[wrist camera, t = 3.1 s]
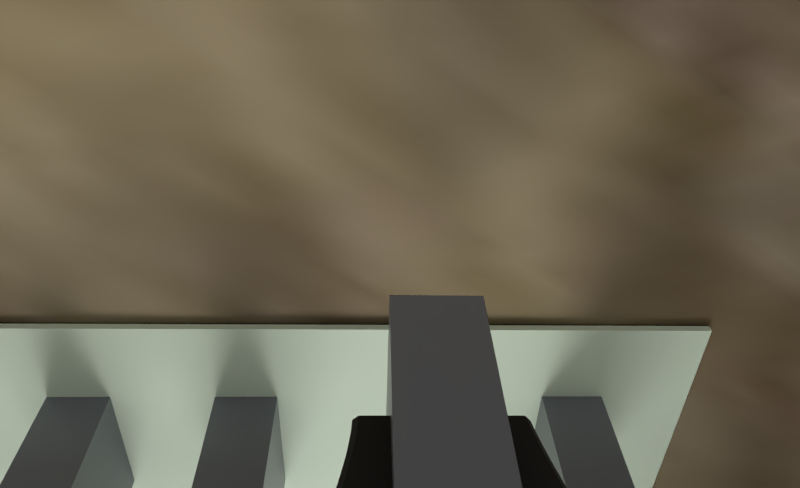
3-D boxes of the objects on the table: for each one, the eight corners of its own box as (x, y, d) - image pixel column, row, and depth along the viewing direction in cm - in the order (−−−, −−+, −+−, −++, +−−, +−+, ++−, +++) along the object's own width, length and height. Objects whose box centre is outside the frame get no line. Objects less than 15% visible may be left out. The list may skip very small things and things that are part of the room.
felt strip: (636, 518, 24) (638, 523, 24) (-120, 525, 23) (-124, 530, 23) (709, 326, 19) (711, 330, 19) (-255, 322, 18) (-260, 327, 18)
